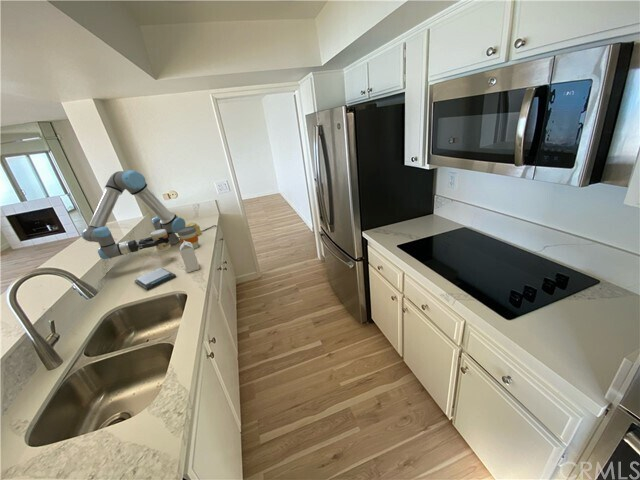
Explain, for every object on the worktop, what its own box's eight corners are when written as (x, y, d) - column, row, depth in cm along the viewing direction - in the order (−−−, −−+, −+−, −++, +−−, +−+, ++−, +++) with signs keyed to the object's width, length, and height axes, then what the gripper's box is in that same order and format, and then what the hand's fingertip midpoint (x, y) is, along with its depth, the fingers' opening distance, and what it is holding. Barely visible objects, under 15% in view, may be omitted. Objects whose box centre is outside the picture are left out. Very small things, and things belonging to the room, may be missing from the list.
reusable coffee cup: (184, 252, 191) (177, 233, 185) (182, 247, 201) (175, 229, 195) (202, 247, 196) (196, 228, 190) (199, 242, 206) (193, 224, 200)
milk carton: (187, 272, 161) (177, 244, 153) (187, 268, 167) (177, 240, 159) (199, 269, 164) (190, 241, 156) (199, 264, 170) (190, 237, 162)
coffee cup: (165, 251, 172) (158, 234, 167) (153, 251, 174) (146, 234, 169) (175, 245, 180) (169, 228, 175) (163, 245, 182) (157, 229, 177)
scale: (162, 270, 168) (161, 266, 167) (176, 277, 157) (174, 273, 156) (135, 282, 157) (133, 278, 156) (147, 290, 146) (146, 286, 145)
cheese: (202, 233, 225) (198, 222, 221) (192, 238, 217) (188, 227, 213) (193, 233, 230) (190, 222, 226) (183, 237, 221) (179, 226, 217)
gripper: (133, 246, 178) (170, 237, 187) (129, 258, 160) (170, 247, 169) (129, 236, 175) (167, 227, 184) (124, 247, 157) (166, 236, 166)
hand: (168, 237), depth 176 cm, fingers closed on coffee cup, 8 cm apart
